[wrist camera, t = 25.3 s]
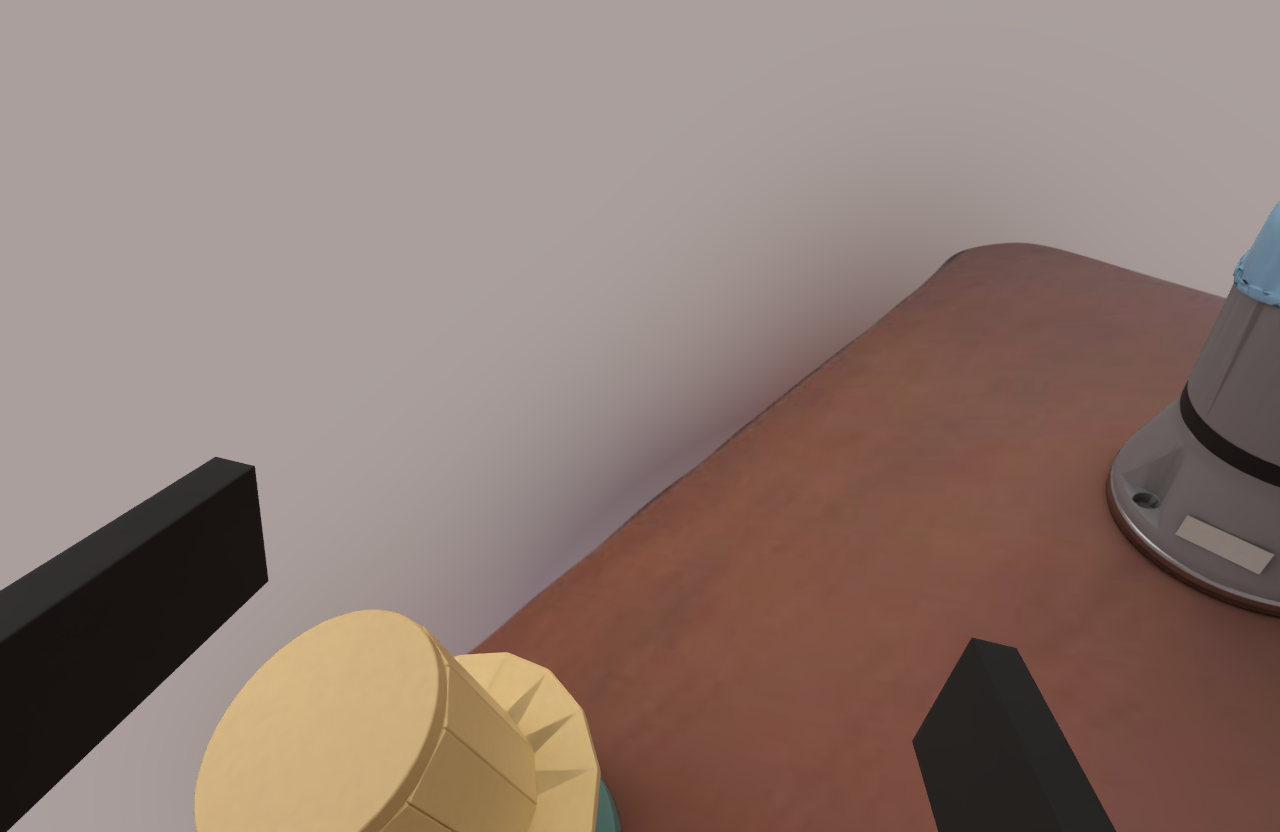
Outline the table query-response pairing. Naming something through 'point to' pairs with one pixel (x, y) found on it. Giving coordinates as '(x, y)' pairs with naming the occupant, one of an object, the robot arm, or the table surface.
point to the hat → (397, 740)
